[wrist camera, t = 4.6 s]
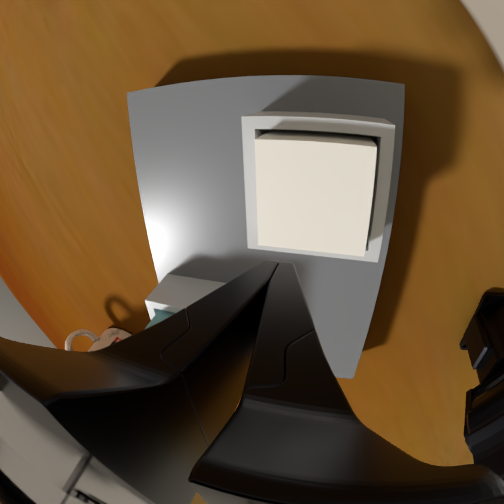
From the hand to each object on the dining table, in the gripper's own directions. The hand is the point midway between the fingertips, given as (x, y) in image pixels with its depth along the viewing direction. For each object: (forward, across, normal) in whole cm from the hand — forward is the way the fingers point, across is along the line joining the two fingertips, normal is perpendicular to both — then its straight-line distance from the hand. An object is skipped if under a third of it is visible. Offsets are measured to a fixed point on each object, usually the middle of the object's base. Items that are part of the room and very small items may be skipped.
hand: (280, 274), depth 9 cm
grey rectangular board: (+12, +4, +5) cm, 14 cm away
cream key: (+8, 0, -1) cm, 8 cm away
